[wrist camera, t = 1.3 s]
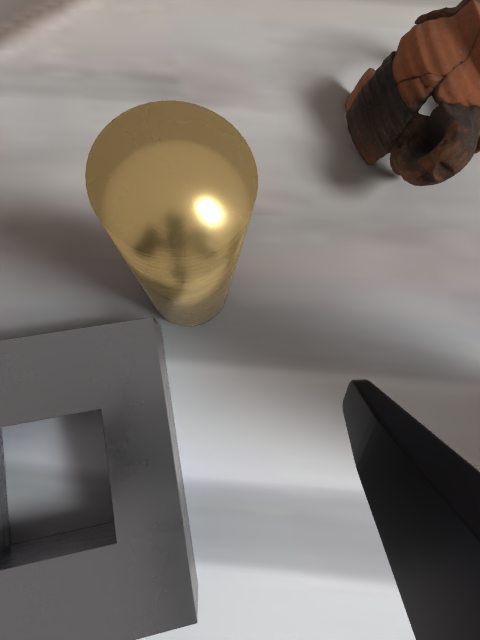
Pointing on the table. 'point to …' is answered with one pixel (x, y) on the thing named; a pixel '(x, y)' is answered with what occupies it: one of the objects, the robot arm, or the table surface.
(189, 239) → the brass cylinder
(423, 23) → the pottery mug
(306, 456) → the table surface
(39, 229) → the table surface
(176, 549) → the jig plate
